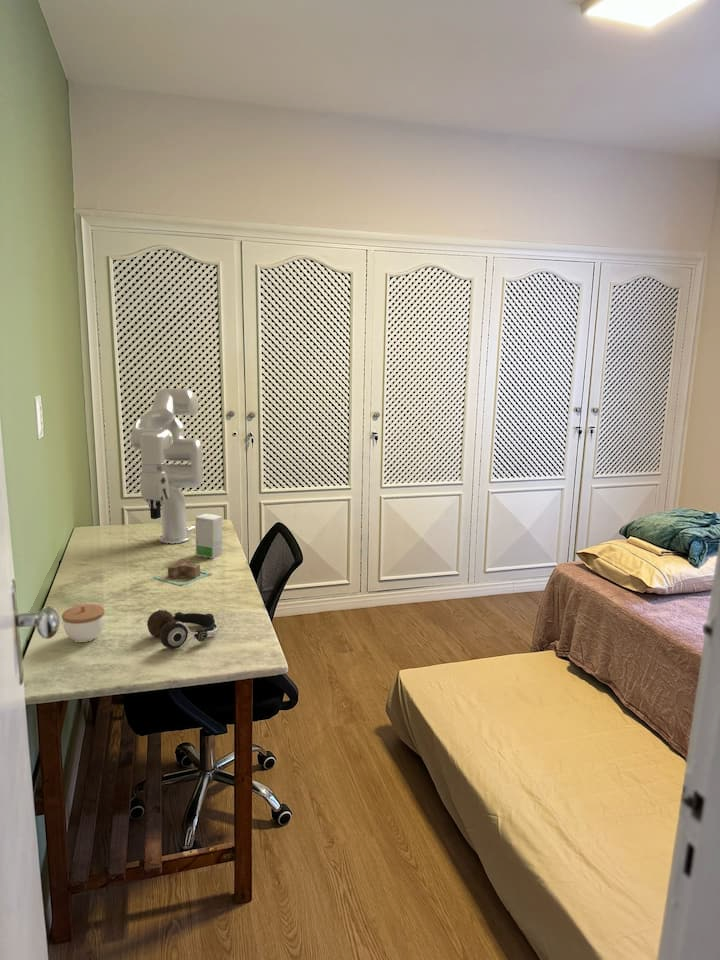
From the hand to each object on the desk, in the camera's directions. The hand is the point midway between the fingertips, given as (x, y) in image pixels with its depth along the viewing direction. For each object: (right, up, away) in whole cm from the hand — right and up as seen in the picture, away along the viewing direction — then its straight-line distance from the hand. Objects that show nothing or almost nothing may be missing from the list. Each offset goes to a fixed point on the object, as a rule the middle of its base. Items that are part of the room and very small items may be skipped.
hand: (155, 517), depth 231 cm
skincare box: (+15, -16, +20) cm, 29 cm away
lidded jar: (-3, -30, -52) cm, 60 cm away
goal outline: (+10, -20, -3) cm, 23 cm away
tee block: (+12, -20, -3) cm, 23 cm away
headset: (+24, -30, -49) cm, 62 cm away
